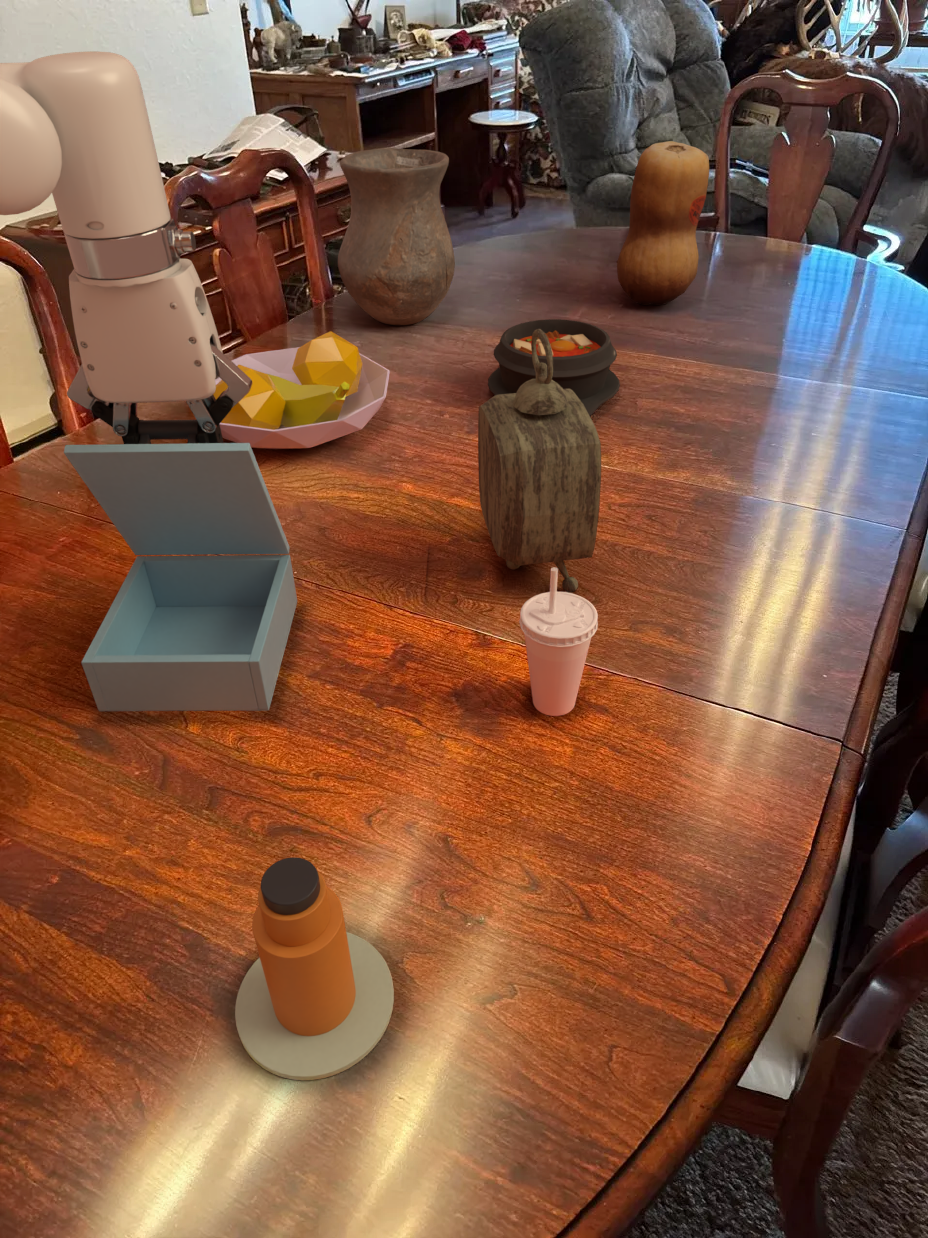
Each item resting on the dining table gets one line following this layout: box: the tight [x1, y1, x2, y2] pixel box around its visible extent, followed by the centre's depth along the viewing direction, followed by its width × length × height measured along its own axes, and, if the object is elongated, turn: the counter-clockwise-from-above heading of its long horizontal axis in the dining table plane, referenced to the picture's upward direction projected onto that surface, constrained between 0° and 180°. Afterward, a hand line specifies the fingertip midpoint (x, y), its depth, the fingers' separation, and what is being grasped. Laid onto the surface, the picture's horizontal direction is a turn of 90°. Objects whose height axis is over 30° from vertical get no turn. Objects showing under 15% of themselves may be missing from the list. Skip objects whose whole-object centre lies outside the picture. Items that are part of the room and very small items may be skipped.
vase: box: [337, 147, 456, 326], centre depth 149 cm, size 20×19×25 cm
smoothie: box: [518, 566, 599, 717], centre depth 76 cm, size 6×6×14 cm
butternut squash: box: [616, 140, 710, 306], centre depth 153 cm, size 14×13×25 cm
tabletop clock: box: [477, 329, 602, 593], centre depth 90 cm, size 14×9×25 cm, turn 9°
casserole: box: [487, 318, 621, 417], centre depth 129 cm, size 25×19×8 cm
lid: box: [63, 419, 291, 556], centre depth 81 cm, size 17×15×5 cm
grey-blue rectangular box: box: [80, 554, 298, 712], centre depth 84 cm, size 16×15×6 cm
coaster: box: [234, 931, 395, 1081], centre depth 59 cm, size 10×10×1 cm
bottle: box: [251, 856, 356, 1036], centre depth 55 cm, size 5×5×12 cm
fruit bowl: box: [213, 330, 391, 450], centre depth 120 cm, size 28×27×11 cm
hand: (180, 467), depth 79 cm, fingers closed on lid, 5 cm apart
